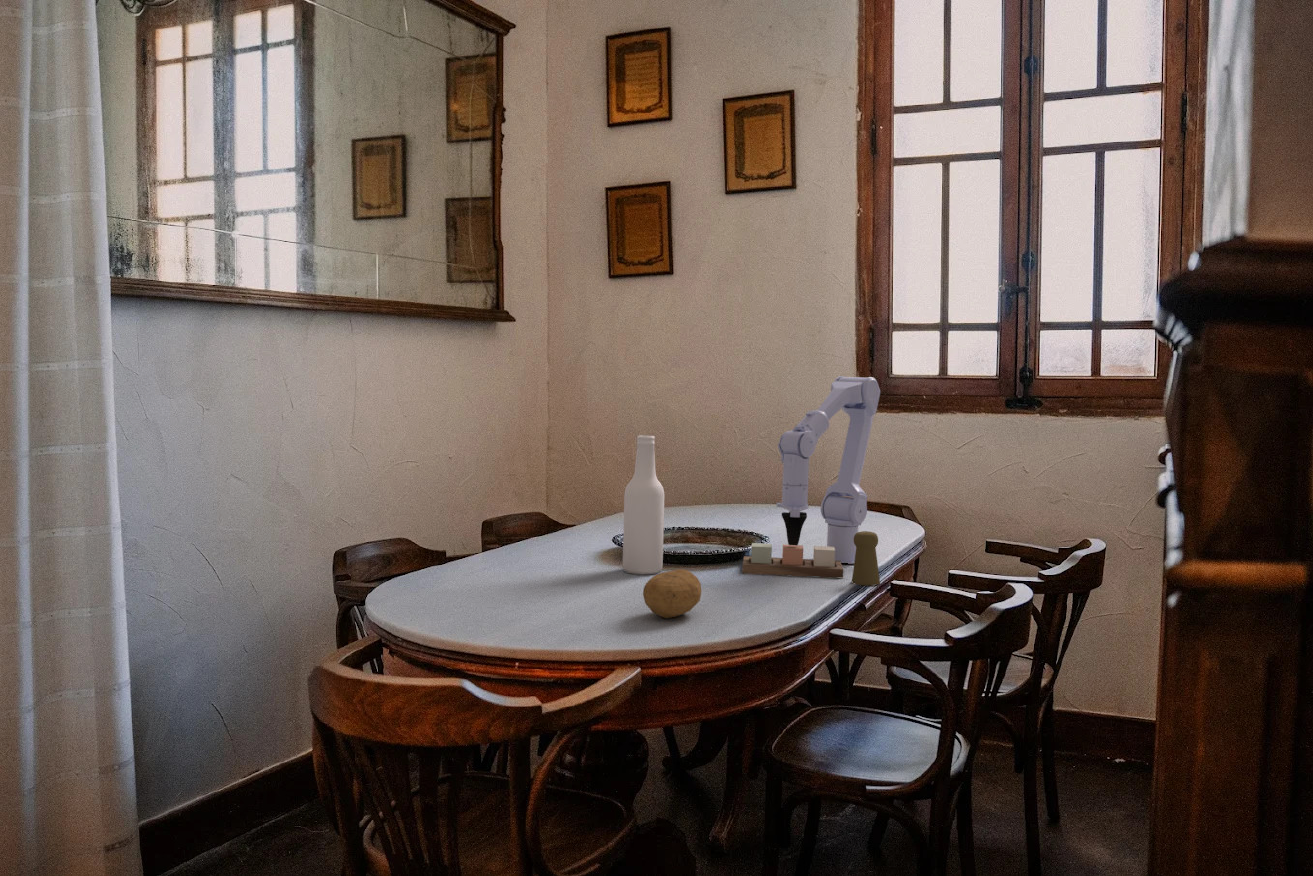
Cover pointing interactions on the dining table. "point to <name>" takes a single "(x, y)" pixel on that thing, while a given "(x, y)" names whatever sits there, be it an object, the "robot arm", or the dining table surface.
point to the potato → (672, 593)
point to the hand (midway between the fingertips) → (793, 544)
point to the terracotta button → (792, 555)
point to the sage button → (761, 553)
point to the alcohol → (643, 514)
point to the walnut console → (792, 568)
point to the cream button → (824, 556)
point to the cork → (865, 559)
